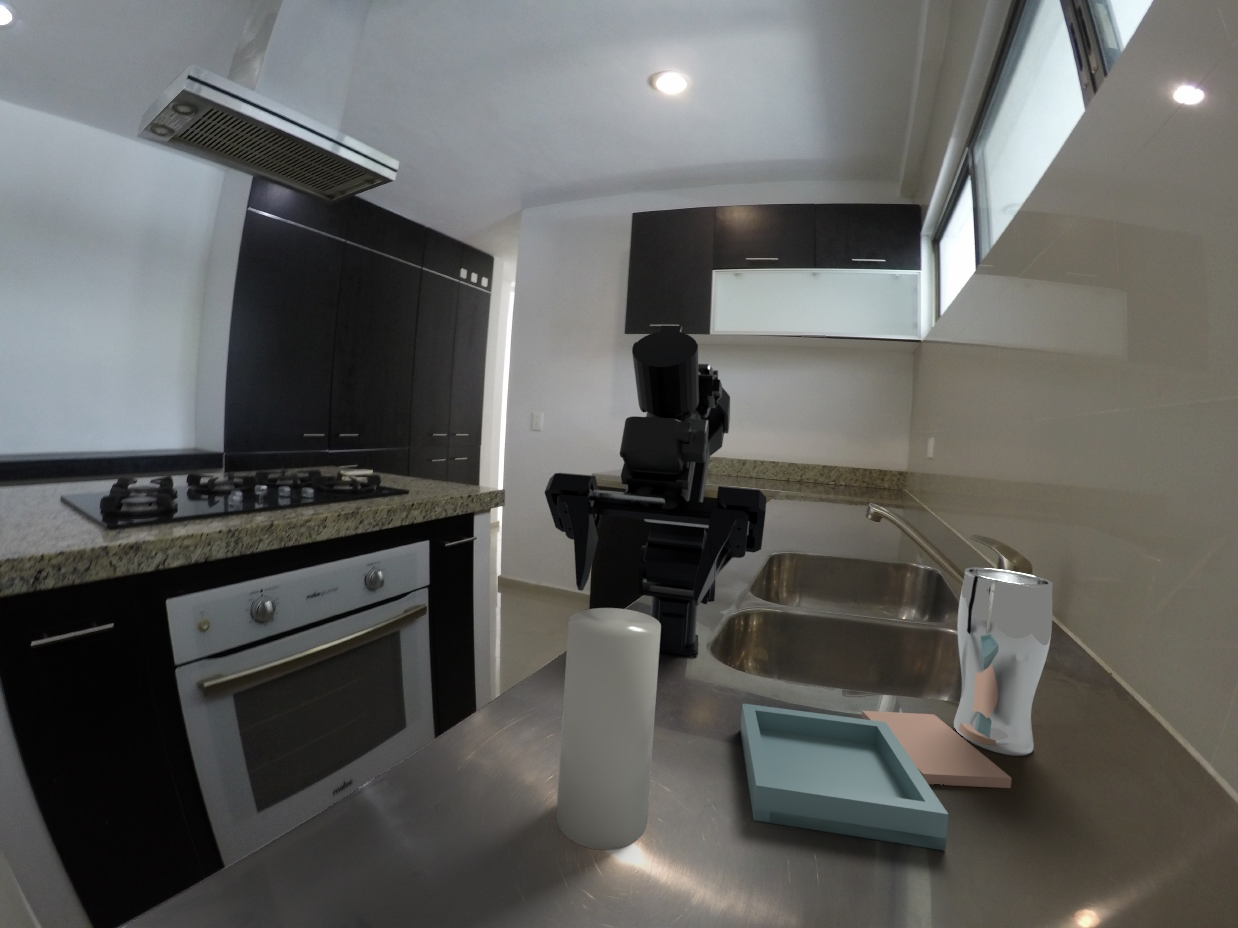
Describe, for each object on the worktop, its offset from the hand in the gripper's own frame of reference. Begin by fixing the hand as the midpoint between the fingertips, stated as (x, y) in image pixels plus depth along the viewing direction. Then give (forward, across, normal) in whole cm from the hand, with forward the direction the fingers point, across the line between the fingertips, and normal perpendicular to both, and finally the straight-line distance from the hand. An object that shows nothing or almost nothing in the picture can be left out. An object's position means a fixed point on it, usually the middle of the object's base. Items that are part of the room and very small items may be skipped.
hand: (636, 595), depth 43 cm
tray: (+8, +15, +11) cm, 20 cm away
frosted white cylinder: (+14, 0, +4) cm, 15 cm away
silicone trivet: (+2, +25, +16) cm, 30 cm away
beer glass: (-1, +31, +20) cm, 37 cm away
